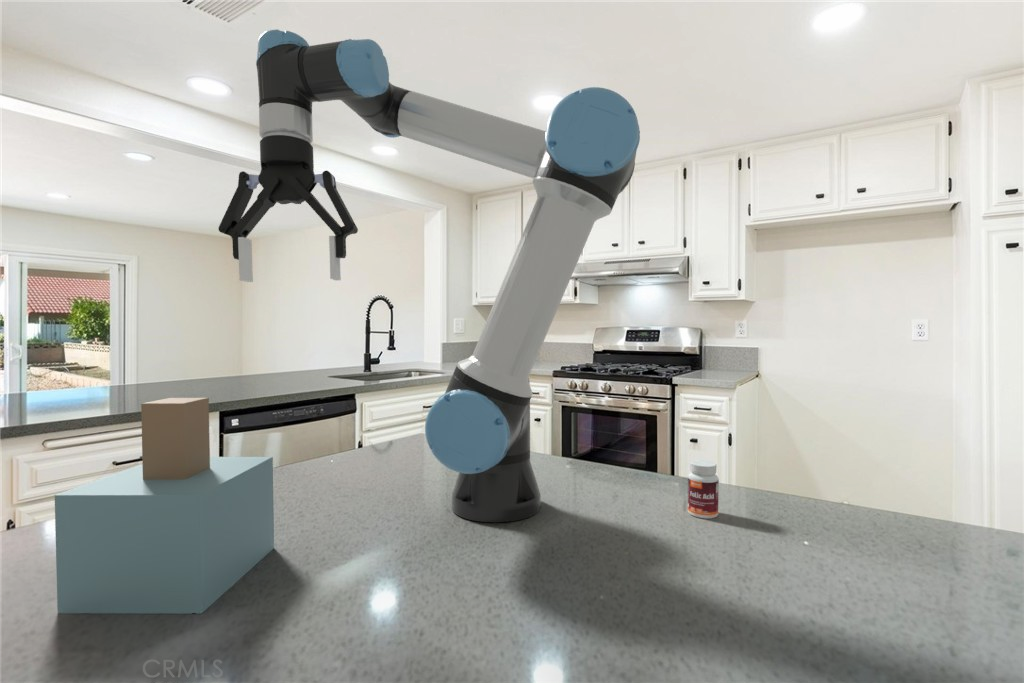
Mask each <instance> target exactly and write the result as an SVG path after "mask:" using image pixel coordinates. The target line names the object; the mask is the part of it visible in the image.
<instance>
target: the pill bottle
mask: <svg viewBox="0 0 1024 683" xmlns="http://www.w3.org/2000/svg"><path fill="white" fill-rule="evenodd" d="M689 469H690V473H688V476H687V513H688V514H689V515H691V516H692V517H695V518H698V519H699V518H700V519H705V520H706V519H707V520H708V519H709V520H710V519H715V518H716V517H718V516H719V488H720V487H719V482H720V481H719V480H720V479H719V477H718V475H717V464H716V463H715V462H714V461H709V460H701V459H700V460H699V459H695V460H691V461H690V466H689Z"/></svg>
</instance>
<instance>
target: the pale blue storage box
mask: <svg viewBox="0 0 1024 683" xmlns="http://www.w3.org/2000/svg"><path fill="white" fill-rule="evenodd" d="M209 399H210V398H209V397H168V398H162V399H158V400H153V401H152V400H151V401H147V402H142V403H140V405H141V406H140V407H141V408H140V409H141V411H140V412H141V414H140V415H141V417H140V418H141V444H142V445H141V450H142V451H141V452H142V457H141V459H142V463H140V464H138V465H134V466H132V467H129V468H127V469H123V470H120V471H118V472H116V473H113V474H110V475H107V476H105V477H102V478H99V479H97V480H93V481H91V482H88V483H84V484H82V485H79V486H76V487H74V488H71V489H68V490H66V491H62V492H59V493H57V494H54V518H55V519H54V522H55V523H54V526H55V529H54V530H55V560H56V561H55V564H56V596H57V597H56V600H57V603H56V604H57V605H56V606H57V609H56V610H57V614H172V615H173V614H179V615H180V614H184V615H186V614H192V613H196V614H197V615H199V614H203V613H204V612H205V611H206V610H207V609H208V608H209V607H211V606H212V605H213V604H214V603H216V602H217V600H219V599H220V598H221V597H222V596H223V595H224V594H225V593H226V592H227V591H228V590H230V589H231V588H232V587H233V586H234V585H235V584H237V582H239V581H240V580H241V579H242V578H243V577H244V576H246V574H247V573H249V572H250V571H251V570H252V569H253V568H254V567H255V566H257V565H258V563H260V562H261V561H262V559H264V558H265V557H266V556H268V555H269V553H270V552H272V551H273V550H274V549H275V523H274V522H275V519H274V518H275V517H274V515H275V514H274V513H275V512H274V509H275V508H274V457H273V456H211V452H210V447H211V446H210V401H209Z"/></svg>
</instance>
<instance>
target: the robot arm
mask: <svg viewBox="0 0 1024 683" xmlns="http://www.w3.org/2000/svg"><path fill="white" fill-rule="evenodd" d="M256 56H257V58H256V61H255V65H256V70H257V81H258V83H257V84H258V101H259V102H258V124H259V126H258V131H259V132H258V133H259V137H260V138H261V139H260V140H259V153H260V154H259V156H260V159H259V160H260V161H259V162H260V172H259V174H250V173H248V172H246V171H240V172H239V173H238V181H237V187H236V189H235V191H234V193H233V196H232V198H231V200H230V202H229V204H228V206H227V209H226V211H225V212H224V216H223V217H222V218H221V219H222V220H221V221H220V223H219V226H218V229H217V230H218V232H220V233H221V234H224V235H227V236H229V237H231V239H232V241H231V242H232V256H233V259H234V260H237V261H238V274H239V275H238V276H239V279H238V280H239V281H241V282H247V283H253V281H254V279H253V278H254V276H253V274H254V273H253V251H252V250H253V247H252V246H253V245H252V242H253V241H252V239H249V238H247V237H248V236H249V235H250V234H251V232H253V230H254V228H255V227H256V226H257V225H258V223H259V222H260V221H261V220H262V219H263V217H264V216H265V215H266V214H267V213H268V211H269V210H270V209H271V208H273V207H274V206H275V205H276V204H280V205H288V204H294V205H302V203H304V202H305V203H306V204H308V205H309V206H310V208H311V209H312V210H313V211H314V212H315V214H316V215H317V216H318V217H319V218H320V219H321V221H323V222H324V224H326V225H327V227H328V228H329V229H330V230H331V231H332V232H333V234H334V235H329V236H328V241H329V242H328V244H329V247H328V248H329V276H330V277H329V278H330V279H331V280H333V281H341V259H345V258H346V257H347V242H346V240H347V237H348V236H350V235H351V236H352V235H355V234H357V233H358V231H359V229H358V227H357V224H356V222H355V221H354V219H353V218H352V215H351V213H350V211H349V210H348V208H347V206H346V204H345V202H344V201H343V198H342V197H341V195H340V192H339V191H338V189H337V182H336V178H335V176H334V175H333V174H332V173H331V172H330V171H329V170H324V171H322V173H317V174H315V171H314V170H315V168H314V165H315V164H314V147H313V145H312V143H313V141H314V139H313V103H316V102H317V103H321V102H330V101H341V102H342V103H344V104H345V106H347V107H348V108H349V109H351V110H352V111H353V112H355V114H357V116H359V117H360V118H361V119H362V120H364V122H366V123H367V124H368V125H369V126H370V128H372V129H373V130H374V131H375V132H377V133H380V134H381V135H383V136H385V137H387V138H399V137H403V138H406V139H409V140H412V141H416V142H418V143H419V142H420V143H421V144H424V145H425V144H426V145H428V146H431V147H435V148H437V149H441V150H444V151H447V152H450V153H453V154H456V155H459V156H462V157H466V158H469V159H472V160H474V161H478V162H481V163H484V164H486V165H491V166H493V167H497V168H501V169H503V170H506V171H509V172H512V173H515V174H517V175H522V176H525V177H528V178H531V179H532V184H533V187H534V189H535V190H534V191H535V193H536V195H537V196H536V201H535V203H534V205H533V208H532V211H531V212H530V215H529V218H528V220H527V223H526V224H525V227H524V230H523V232H522V234H521V237H520V240H519V242H518V244H517V246H516V249H515V250H514V251H515V252H514V254H513V256H512V259H511V261H510V263H509V266H508V268H507V271H506V273H505V275H504V278H503V280H502V282H501V285H500V287H499V290H498V293H497V294H496V297H495V299H494V302H493V304H492V307H491V309H490V312H489V314H488V317H487V319H486V321H485V324H484V326H483V329H482V331H481V334H480V336H479V338H478V340H477V343H476V346H475V347H474V350H473V353H472V354H471V356H469V357H467V358H464V359H462V360H459V361H458V362H457V364H456V366H455V368H454V371H453V373H452V376H451V377H450V381H449V383H448V384H447V387H446V390H445V392H444V394H442V395H440V396H438V398H437V399H436V400H435V401H434V403H433V404H432V405H431V407H430V409H429V411H428V413H427V415H426V419H425V425H424V429H425V430H424V434H425V435H424V436H425V439H426V443H427V444H428V447H429V449H430V452H431V453H432V455H433V456H434V458H436V460H437V461H438V462H439V463H440V464H442V465H443V466H444V467H446V468H447V469H449V470H451V471H453V472H456V473H458V475H457V478H456V480H455V484H454V488H453V491H452V495H451V510H452V512H453V513H454V514H455V515H457V516H459V517H460V518H462V519H466V520H470V521H475V522H483V523H507V522H515V521H519V520H523V519H527V518H529V517H532V516H534V515H536V514H537V513H538V512H539V511H540V510H541V507H542V506H541V504H542V502H541V499H542V496H541V491H540V488H539V485H538V482H537V479H536V478H537V477H536V476H535V472H534V469H533V466H532V463H531V399H532V397H533V390H532V388H531V383H530V381H531V380H530V378H529V377H530V374H531V372H532V370H533V367H534V365H535V363H536V361H537V358H538V355H539V354H540V351H541V349H542V346H543V344H544V342H545V339H546V337H547V335H548V332H549V330H550V327H551V325H552V323H553V321H554V318H555V316H556V313H557V311H558V309H559V306H560V304H561V302H562V300H563V297H564V295H565V292H566V290H567V287H568V285H569V283H570V281H571V278H572V276H573V273H574V271H575V269H576V268H577V265H578V262H579V259H580V257H581V255H582V253H583V250H584V247H585V245H586V243H587V241H588V238H589V236H590V234H591V231H592V229H593V228H594V224H595V222H597V221H598V220H600V219H604V218H605V217H607V216H610V214H611V213H612V210H613V208H614V206H615V203H616V202H617V199H618V197H619V195H620V194H621V193H622V192H623V191H624V190H625V189H626V187H627V186H628V185H629V183H630V181H631V179H632V176H633V175H634V170H635V164H636V157H637V151H638V148H639V144H640V140H641V135H640V134H641V131H640V125H639V122H638V121H639V120H638V117H637V114H636V111H635V109H634V108H633V106H632V105H631V103H630V102H629V101H628V100H627V99H626V98H625V97H624V96H622V95H621V94H619V93H618V92H616V91H614V90H611V89H609V88H604V87H599V86H598V87H596V86H593V87H586V88H585V87H584V88H581V89H579V90H576V91H574V92H571V93H570V94H568V95H566V96H565V97H563V98H562V99H561V100H560V101H559V102H558V103H557V104H556V105H555V107H554V108H553V110H551V113H550V114H549V117H548V120H547V124H546V130H543V129H540V128H536V127H533V126H529V125H527V124H522V123H519V122H516V121H513V120H510V119H506V118H503V117H499V116H496V115H493V114H490V113H486V112H483V111H480V110H476V109H473V108H470V107H466V106H463V105H460V104H457V103H453V102H449V101H447V100H443V99H440V98H437V97H433V96H430V95H426V94H423V93H420V92H416V91H412V90H409V89H405V88H403V87H400V86H396V85H394V84H392V83H391V82H390V72H389V65H388V63H387V58H386V56H384V52H383V49H382V48H381V46H380V45H379V43H378V42H376V40H373V39H371V38H367V39H366V38H364V39H352V38H349V39H344V40H341V41H335V42H327V43H321V44H320V43H319V44H314V45H310V44H309V43H308V41H307V40H306V39H305V38H304V37H302V36H301V35H299V34H297V33H296V32H292V31H290V30H284V31H283V30H280V29H270V30H269V29H268V30H266V31H264V32H263V33H262V34H260V36H259V37H258V41H257V55H256ZM317 184H319V185H320V187H321V188H323V189H324V190H325V191H326V193H327V196H328V197H329V200H330V201H331V202H332V205H333V207H334V209H335V211H336V212H337V214H338V216H339V218H340V219H341V222H342V224H343V225H342V226H341V224H339V223H338V222H337V220H335V218H334V217H333V216H332V215H331V214H330V212H328V210H327V209H326V208H325V207H324V205H322V204H321V203H320V201H319V199H318V198H316V197H315V196H314V194H313V190H314V189H315V188H316V186H317ZM258 185H260V186H261V187H262V190H261V191H260V192H259V193H258V195H257V196H256V200H255V201H254V202H253V203H252V205H251V206H250V207H249V208H248V209H247V207H248V205H249V202H250V200H251V199H252V196H253V193H254V190H256V189H257V187H258ZM246 209H247V211H246ZM245 211H246V212H245Z"/></svg>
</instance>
